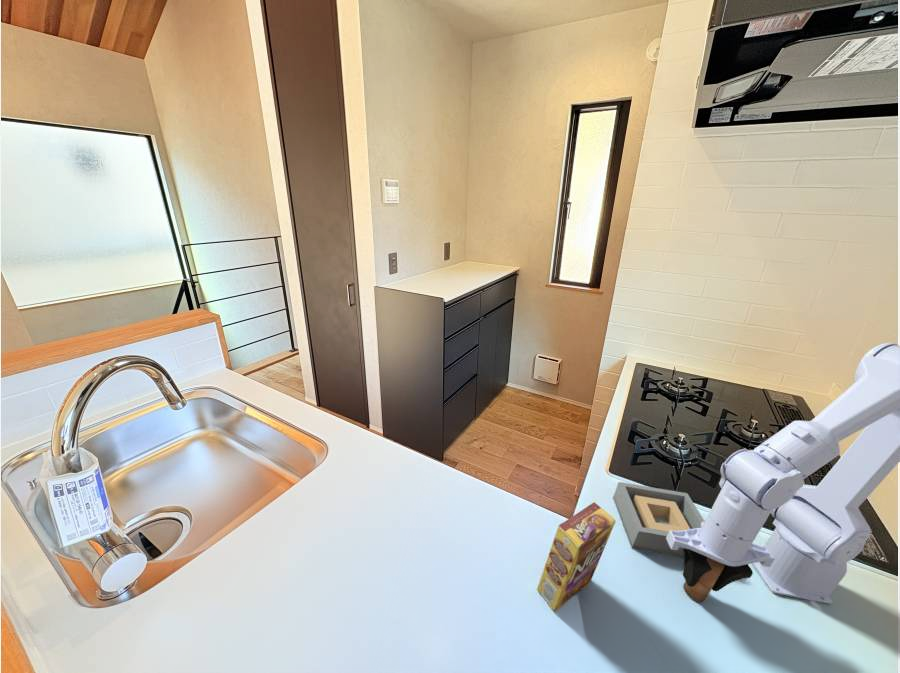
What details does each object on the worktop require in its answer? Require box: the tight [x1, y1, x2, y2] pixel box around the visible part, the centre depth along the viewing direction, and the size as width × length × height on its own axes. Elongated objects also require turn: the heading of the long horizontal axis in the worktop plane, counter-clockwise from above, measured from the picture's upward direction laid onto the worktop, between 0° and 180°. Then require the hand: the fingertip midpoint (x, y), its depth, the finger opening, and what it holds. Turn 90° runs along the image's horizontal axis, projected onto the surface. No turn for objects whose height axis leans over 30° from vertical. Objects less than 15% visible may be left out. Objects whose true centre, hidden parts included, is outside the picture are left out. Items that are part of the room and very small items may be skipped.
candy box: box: [536, 501, 616, 613], centre depth 55 cm, size 9×4×15 cm, turn 124°
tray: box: [612, 481, 706, 559], centre depth 70 cm, size 14×12×4 cm
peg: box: [682, 557, 724, 603], centre depth 58 cm, size 3×3×8 cm
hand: (699, 582), depth 58 cm, fingers closed on peg, 3 cm apart
